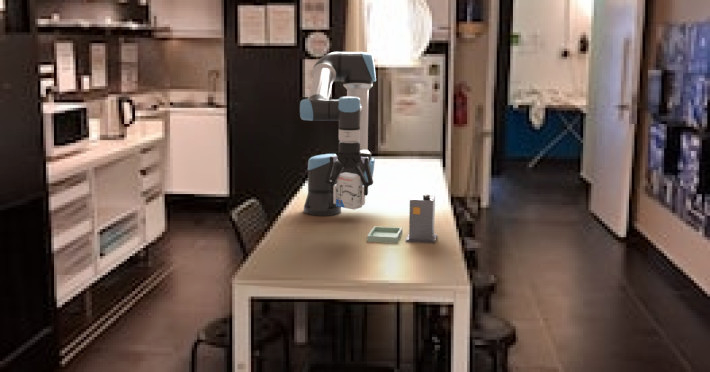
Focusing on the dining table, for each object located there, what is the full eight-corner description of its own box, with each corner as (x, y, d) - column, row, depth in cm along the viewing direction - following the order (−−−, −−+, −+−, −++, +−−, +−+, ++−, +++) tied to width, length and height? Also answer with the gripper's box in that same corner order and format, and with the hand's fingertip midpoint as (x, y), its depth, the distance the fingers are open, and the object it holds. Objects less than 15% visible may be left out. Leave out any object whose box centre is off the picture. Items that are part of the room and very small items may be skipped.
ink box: (335, 206, 279) (335, 174, 277) (344, 203, 283) (344, 171, 281) (354, 210, 274) (354, 177, 272) (363, 207, 278) (363, 174, 276)
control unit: (405, 241, 272) (406, 196, 269) (409, 234, 281) (409, 191, 278) (434, 243, 270) (435, 197, 267) (437, 236, 279) (438, 192, 276)
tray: (367, 241, 272) (367, 235, 271) (373, 231, 286) (373, 226, 285) (396, 243, 270) (397, 237, 270) (402, 233, 284) (402, 227, 283)
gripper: (316, 141, 272) (316, 204, 277) (379, 143, 268) (378, 207, 273) (320, 138, 279) (321, 199, 284) (382, 140, 276) (381, 202, 280)
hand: (349, 203), depth 279 cm, fingers closed on ink box, 9 cm apart
